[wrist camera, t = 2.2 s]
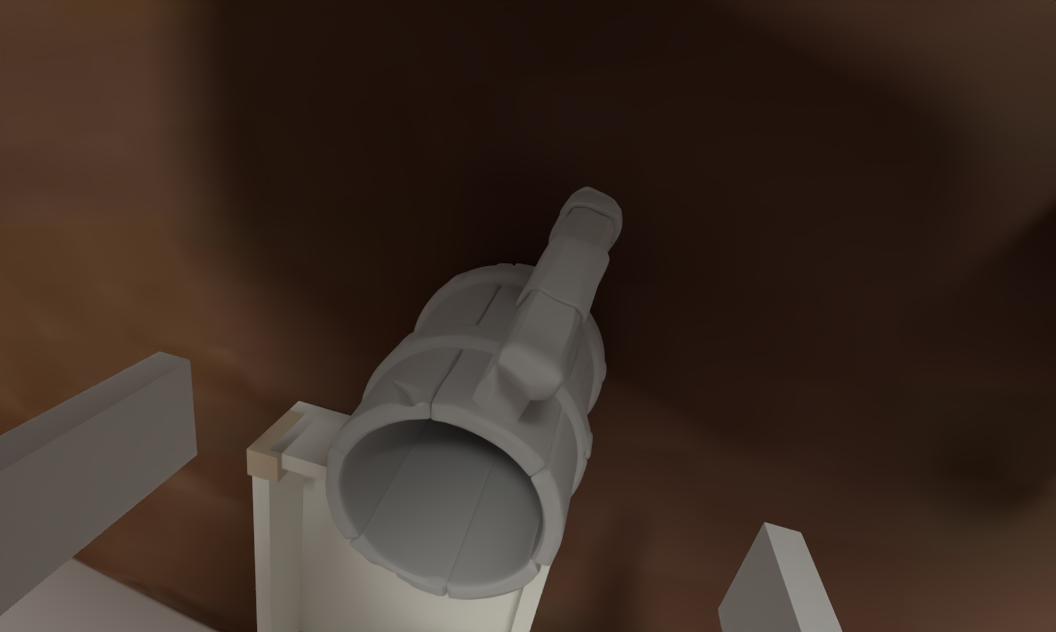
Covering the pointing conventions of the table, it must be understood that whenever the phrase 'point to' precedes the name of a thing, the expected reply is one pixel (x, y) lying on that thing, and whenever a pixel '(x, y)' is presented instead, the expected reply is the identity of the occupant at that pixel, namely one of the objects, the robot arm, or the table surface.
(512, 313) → the mug
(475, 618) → the crate
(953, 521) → the table surface
